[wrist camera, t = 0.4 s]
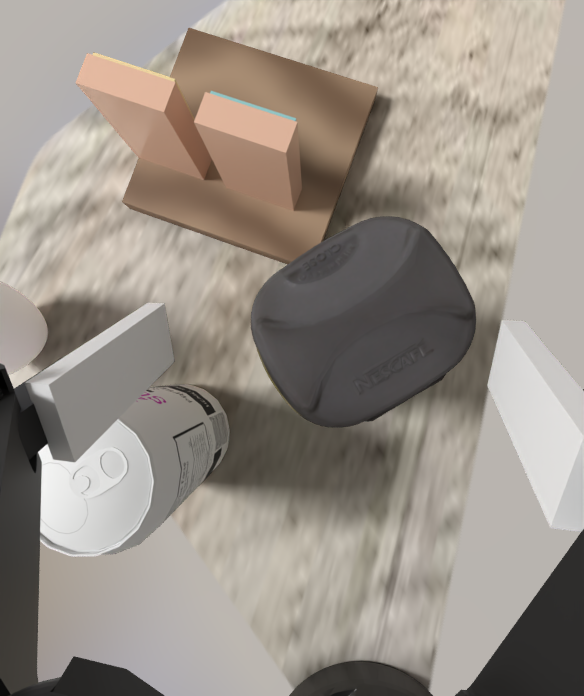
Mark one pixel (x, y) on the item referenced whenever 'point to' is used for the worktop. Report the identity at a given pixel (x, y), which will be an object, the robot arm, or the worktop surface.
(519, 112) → the worktop surface
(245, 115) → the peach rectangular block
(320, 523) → the worktop surface
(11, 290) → the sauce bottle
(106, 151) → the worktop surface
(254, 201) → the board
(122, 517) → the supplement can
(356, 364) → the coffee jar
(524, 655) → the robot arm
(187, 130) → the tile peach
